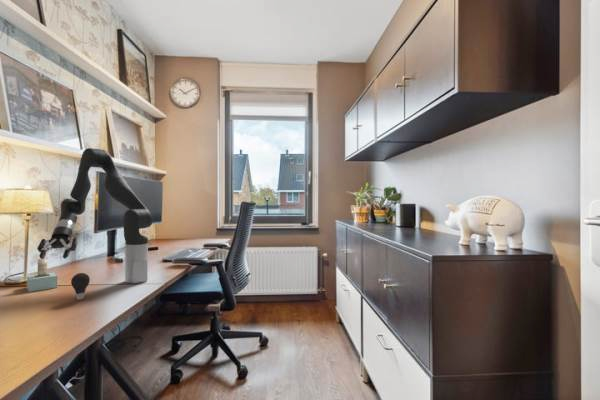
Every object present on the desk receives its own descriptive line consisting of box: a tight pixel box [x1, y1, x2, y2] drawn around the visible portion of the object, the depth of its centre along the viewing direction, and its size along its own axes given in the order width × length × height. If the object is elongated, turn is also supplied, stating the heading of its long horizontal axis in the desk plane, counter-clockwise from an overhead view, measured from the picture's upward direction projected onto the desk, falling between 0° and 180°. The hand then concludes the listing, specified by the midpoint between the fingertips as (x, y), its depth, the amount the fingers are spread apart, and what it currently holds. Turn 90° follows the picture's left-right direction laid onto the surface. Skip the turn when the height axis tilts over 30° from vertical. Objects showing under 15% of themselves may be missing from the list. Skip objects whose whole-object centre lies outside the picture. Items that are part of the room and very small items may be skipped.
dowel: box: [37, 258, 48, 277], centre depth 129 cm, size 3×3×12 cm
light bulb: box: [70, 272, 90, 301], centre depth 113 cm, size 6×6×10 cm
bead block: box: [26, 272, 58, 293], centre depth 128 cm, size 9×9×5 cm
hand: (53, 258), depth 138 cm, fingers open, 8 cm apart
